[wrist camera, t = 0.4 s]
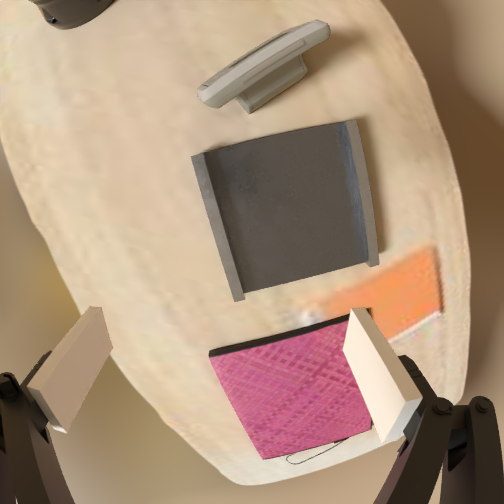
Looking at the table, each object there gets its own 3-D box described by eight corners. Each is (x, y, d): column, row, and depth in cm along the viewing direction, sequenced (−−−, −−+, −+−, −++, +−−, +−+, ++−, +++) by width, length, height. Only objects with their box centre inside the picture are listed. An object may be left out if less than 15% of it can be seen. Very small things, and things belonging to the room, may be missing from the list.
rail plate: (195, 156, 36) (190, 156, 33) (348, 121, 34) (356, 119, 31) (235, 292, 42) (234, 301, 39) (371, 257, 41) (379, 264, 38)
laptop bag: (205, 362, 42) (373, 316, 41) (207, 347, 46) (364, 304, 45) (266, 471, 55) (373, 442, 53) (265, 459, 58) (368, 431, 57)
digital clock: (295, 30, 30) (311, -6, 20) (326, 83, 33) (353, 60, 23) (187, 75, 32) (166, 49, 22) (216, 130, 35) (205, 121, 25)
